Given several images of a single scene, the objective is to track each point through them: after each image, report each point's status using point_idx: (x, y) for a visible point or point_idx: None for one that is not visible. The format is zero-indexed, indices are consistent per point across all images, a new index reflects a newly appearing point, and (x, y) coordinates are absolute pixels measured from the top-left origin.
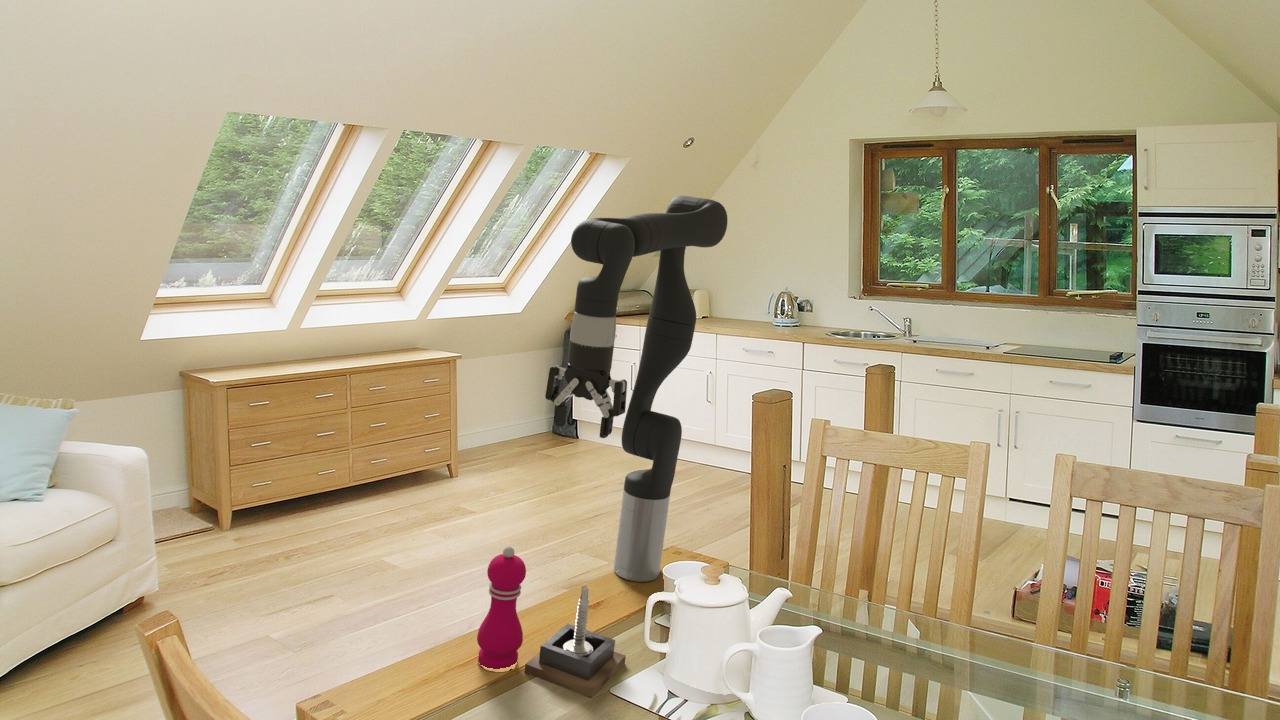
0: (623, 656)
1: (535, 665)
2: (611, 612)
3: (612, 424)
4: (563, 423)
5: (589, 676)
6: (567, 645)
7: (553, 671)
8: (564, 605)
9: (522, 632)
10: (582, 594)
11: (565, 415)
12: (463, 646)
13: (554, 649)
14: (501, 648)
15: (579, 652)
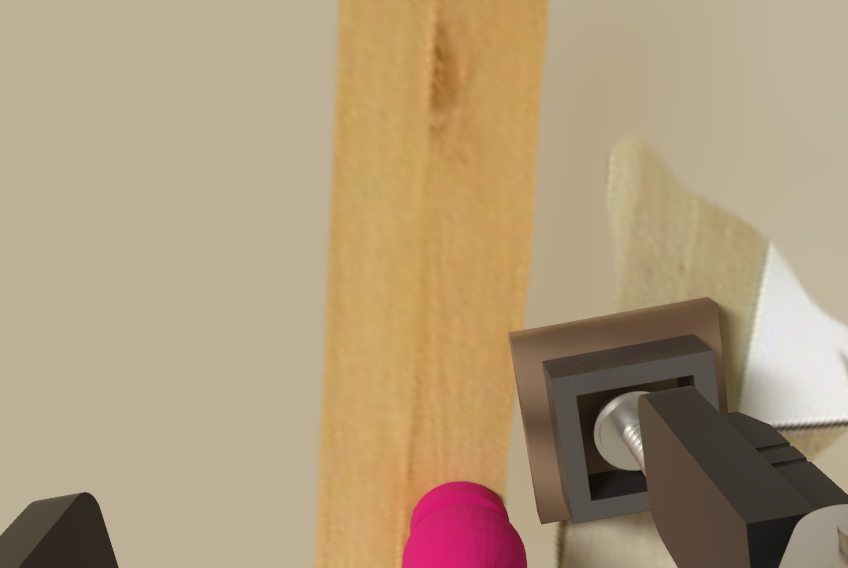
0: (714, 312)
1: (564, 512)
2: (510, 75)
3: (820, 477)
4: (90, 534)
5: None
6: (613, 453)
7: None
8: (375, 155)
9: (511, 539)
10: None
11: (35, 564)
12: (345, 531)
13: (612, 510)
14: None
15: None
